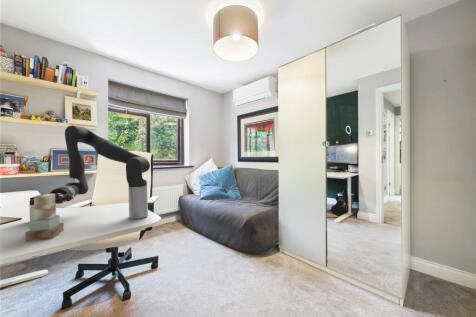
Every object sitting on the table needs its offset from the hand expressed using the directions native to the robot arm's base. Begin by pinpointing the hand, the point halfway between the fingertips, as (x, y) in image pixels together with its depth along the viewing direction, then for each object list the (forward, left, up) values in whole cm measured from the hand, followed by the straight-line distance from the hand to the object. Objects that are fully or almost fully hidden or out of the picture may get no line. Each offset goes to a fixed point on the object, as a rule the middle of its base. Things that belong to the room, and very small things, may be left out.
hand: (44, 202), depth 86 cm
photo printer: (+13, -27, -15) cm, 33 cm away
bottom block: (+1, -2, -15) cm, 15 cm away
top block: (+1, -2, -11) cm, 12 cm away
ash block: (0, -2, -7) cm, 7 cm away
